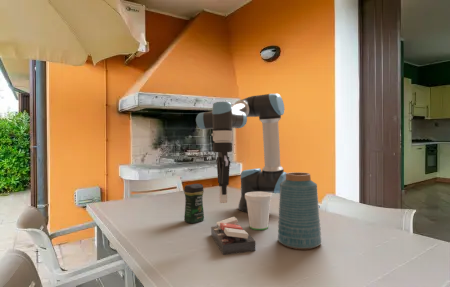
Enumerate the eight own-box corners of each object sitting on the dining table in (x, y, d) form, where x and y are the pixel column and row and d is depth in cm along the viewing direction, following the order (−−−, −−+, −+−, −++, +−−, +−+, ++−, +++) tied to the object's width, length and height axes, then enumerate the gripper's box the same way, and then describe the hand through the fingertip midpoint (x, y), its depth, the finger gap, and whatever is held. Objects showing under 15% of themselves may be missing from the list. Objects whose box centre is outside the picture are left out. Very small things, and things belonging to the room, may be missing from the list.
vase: (315, 254, 94) (314, 177, 94) (271, 245, 103) (270, 175, 102) (325, 239, 108) (324, 172, 107) (286, 232, 116) (284, 170, 116)
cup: (274, 224, 128) (274, 192, 128) (270, 232, 117) (269, 197, 116) (249, 222, 132) (248, 190, 132) (242, 230, 121) (241, 196, 120)
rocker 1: (234, 220, 116) (233, 216, 116) (238, 223, 112) (237, 219, 112) (217, 226, 114) (216, 222, 114) (219, 229, 110) (218, 225, 110)
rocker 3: (243, 234, 104) (244, 229, 104) (247, 238, 99) (248, 233, 99) (223, 231, 102) (224, 227, 102) (226, 235, 97) (227, 231, 97)
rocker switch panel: (233, 227, 125) (233, 217, 125) (255, 250, 98) (255, 238, 98) (208, 229, 122) (208, 219, 122) (223, 254, 95) (222, 241, 95)
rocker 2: (238, 229, 110) (239, 224, 110) (242, 232, 105) (243, 228, 105) (219, 226, 108) (220, 222, 108) (222, 230, 103) (223, 225, 104)
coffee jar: (192, 224, 130) (191, 186, 130) (181, 221, 135) (181, 184, 135) (207, 220, 137) (206, 183, 137) (196, 217, 142) (196, 182, 142)
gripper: (209, 142, 111) (210, 199, 111) (216, 142, 98) (217, 207, 98) (227, 141, 113) (228, 198, 113) (236, 141, 100) (237, 205, 100)
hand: (223, 202), depth 106 cm, fingers closed
